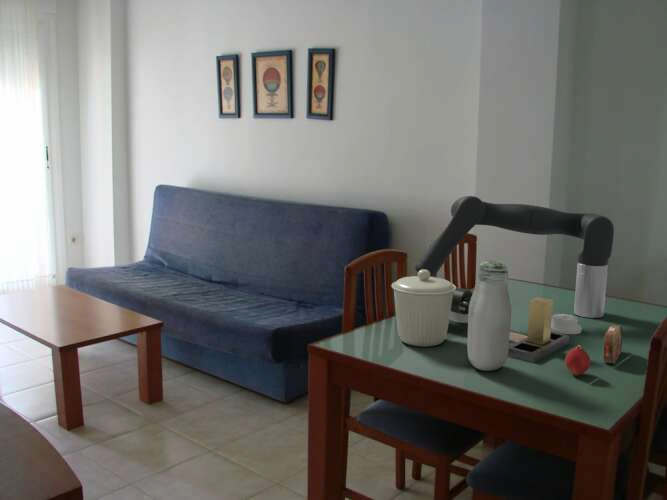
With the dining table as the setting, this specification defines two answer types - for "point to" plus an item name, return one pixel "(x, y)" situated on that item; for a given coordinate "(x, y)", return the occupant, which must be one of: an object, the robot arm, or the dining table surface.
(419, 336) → the canister
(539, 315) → the brass block
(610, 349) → the tin
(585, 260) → the robot arm
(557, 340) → the compartment tray
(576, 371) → the pomegranate
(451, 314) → the ramekin
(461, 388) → the dining table surface
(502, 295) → the glass bottle
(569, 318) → the mechanical component
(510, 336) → the tile
